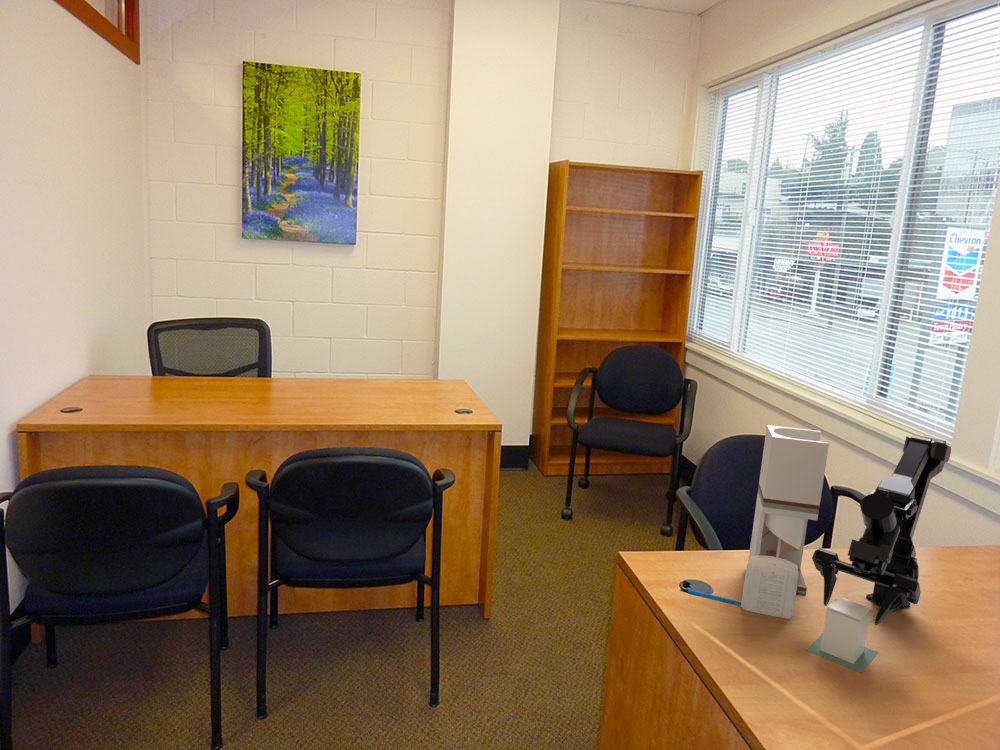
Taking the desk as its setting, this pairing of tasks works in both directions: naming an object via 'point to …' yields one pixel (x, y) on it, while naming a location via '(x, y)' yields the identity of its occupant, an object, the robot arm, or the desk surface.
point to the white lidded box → (845, 629)
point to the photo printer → (770, 586)
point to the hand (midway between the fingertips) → (849, 614)
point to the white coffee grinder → (788, 493)
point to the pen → (711, 596)
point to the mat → (857, 666)
